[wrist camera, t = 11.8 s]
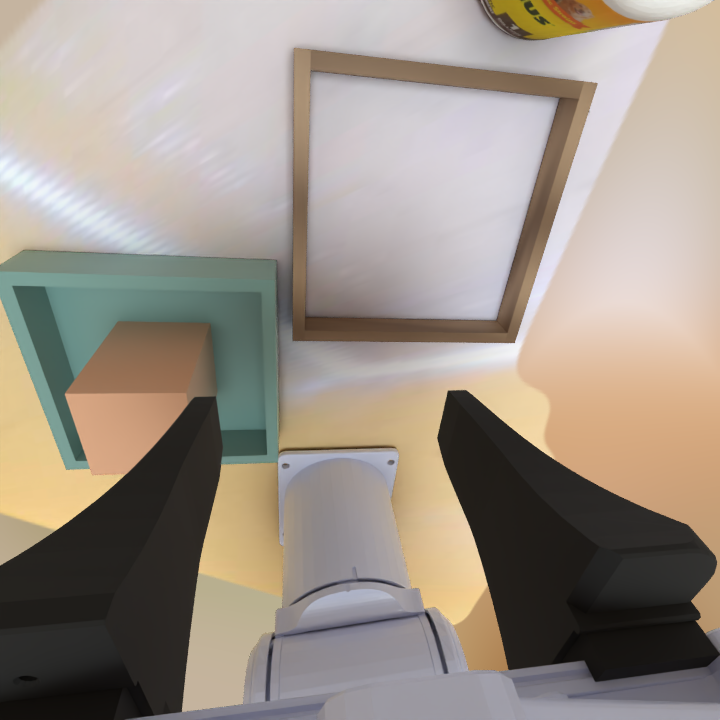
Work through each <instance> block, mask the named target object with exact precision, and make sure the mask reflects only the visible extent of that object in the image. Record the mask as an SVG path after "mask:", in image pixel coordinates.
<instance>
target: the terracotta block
mask: <svg viewBox="0 0 720 720" xmlns="http://www.w3.org/2000/svg"><path fill="white" fill-rule="evenodd" d="M217 392H218V391H217V382H216V372H215V363H214V353H213V344H212V334H211V325H210V323H186V322H132V321H118V322H117V323H116V325H115V326H114V327H113V329H112V330H111V331H110V333H109V334H108V335H107V337H106V338H105V340H104V341H103V342H102V344H101V345H100V346H99V348H98V349H97V350H96V352H95V353H94V354H93V356H92V357H91V359H90V360H89V361H88V363H87V364H86V365H85V367H84V368H83V369H82V371H81V372H80V373H79V375H78V376H77V378H76V379H75V380H74V382H73V383H72V384H71V386H70V387H69V388H68V390H67V391H66V393H65V396H66V399H67V402H68V405H69V408H70V411H71V414H72V417H73V420H74V423H75V426H76V429H77V432H78V435H79V438H80V441H81V444H82V447H83V450H84V453H85V455H86V458H87V461H88V464H89V467H90V470H91V473H92V475H113V474H127V473H128V472H129V471H130V470H131V469H132V468H133V467H134V466H135V465H136V464H137V463H138V462H139V461H140V460H141V459H142V458H143V457H144V456H145V455H146V454H147V453H148V452H149V450H150V449H151V448H152V447H153V446H154V445H155V444H156V443H157V442H158V440H159V439H160V438H161V437H162V436H163V435H164V433H165V432H166V431H167V430H168V429H169V428H170V426H171V425H172V424H173V423H174V422H175V420H176V419H177V418H178V417H179V415H180V414H181V413H182V411H183V410H184V409H185V408H186V406H187V405H188V404H189V402H190V401H191V400H192V399H193V398H194V397H209V396H217Z"/></svg>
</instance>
